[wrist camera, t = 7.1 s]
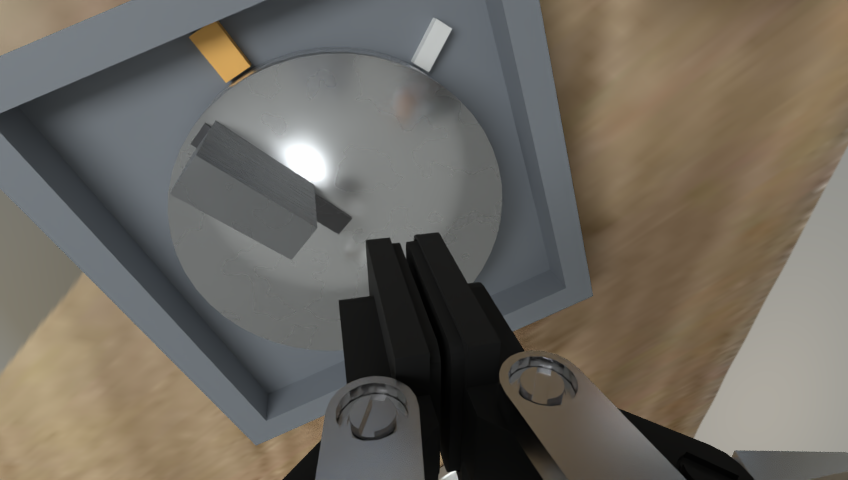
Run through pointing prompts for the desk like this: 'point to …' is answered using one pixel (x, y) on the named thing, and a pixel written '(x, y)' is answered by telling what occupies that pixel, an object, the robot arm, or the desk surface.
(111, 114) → the square tray
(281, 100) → the dial
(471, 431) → the robot arm
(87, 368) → the desk surface
